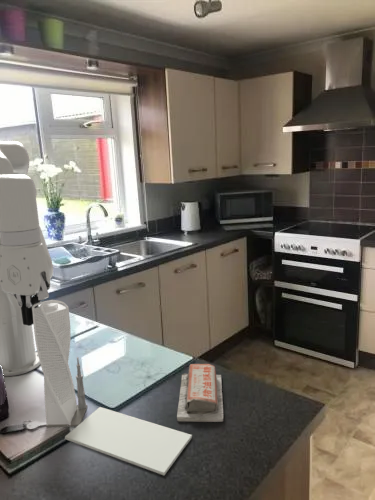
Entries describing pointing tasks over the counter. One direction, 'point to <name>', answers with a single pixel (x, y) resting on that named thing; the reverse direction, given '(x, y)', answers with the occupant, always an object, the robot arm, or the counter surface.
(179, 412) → the packaged product
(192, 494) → the counter surface
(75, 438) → the mat
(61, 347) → the twisted tower model
